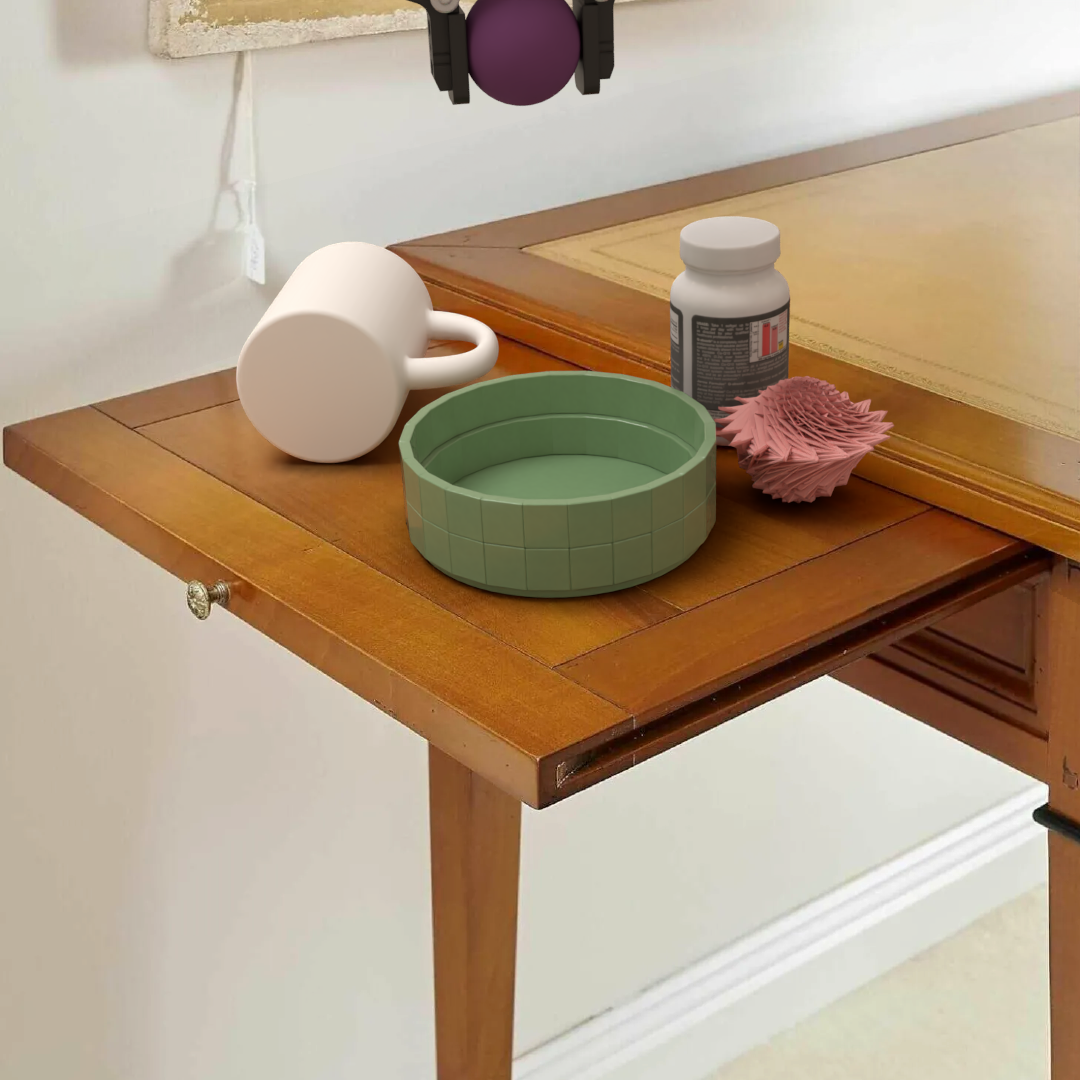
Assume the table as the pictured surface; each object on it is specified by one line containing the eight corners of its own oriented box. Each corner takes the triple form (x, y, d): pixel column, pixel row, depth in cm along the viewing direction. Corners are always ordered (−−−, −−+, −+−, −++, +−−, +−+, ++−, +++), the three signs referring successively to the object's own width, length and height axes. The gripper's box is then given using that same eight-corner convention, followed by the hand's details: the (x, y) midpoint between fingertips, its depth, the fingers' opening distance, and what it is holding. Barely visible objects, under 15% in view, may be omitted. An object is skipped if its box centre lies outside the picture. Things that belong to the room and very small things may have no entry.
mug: (246, 464, 79) (223, 309, 75) (294, 383, 88) (276, 240, 84) (491, 465, 78) (480, 307, 74) (514, 383, 87) (506, 238, 83)
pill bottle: (810, 422, 81) (817, 227, 76) (736, 460, 77) (739, 259, 72) (721, 392, 84) (723, 205, 80) (647, 428, 81) (644, 234, 76)
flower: (789, 441, 79) (793, 333, 76) (925, 493, 73) (934, 378, 71) (674, 495, 74) (674, 382, 72) (809, 554, 69) (814, 435, 66)
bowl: (672, 443, 79) (671, 356, 77) (753, 578, 67) (755, 481, 65) (393, 476, 77) (385, 388, 75) (427, 621, 66) (418, 522, 63)
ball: (571, 86, 72) (567, -33, 69) (593, 113, 67) (590, -14, 65) (458, 95, 71) (450, -25, 69) (473, 123, 67) (465, -4, 64)
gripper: (316, -359, 57) (360, 131, 65) (717, -376, 58) (712, 103, 66) (307, -356, 63) (348, 89, 71) (668, -371, 65) (668, 64, 73)
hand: (524, 93), depth 69 cm, fingers closed on ball, 5 cm apart
